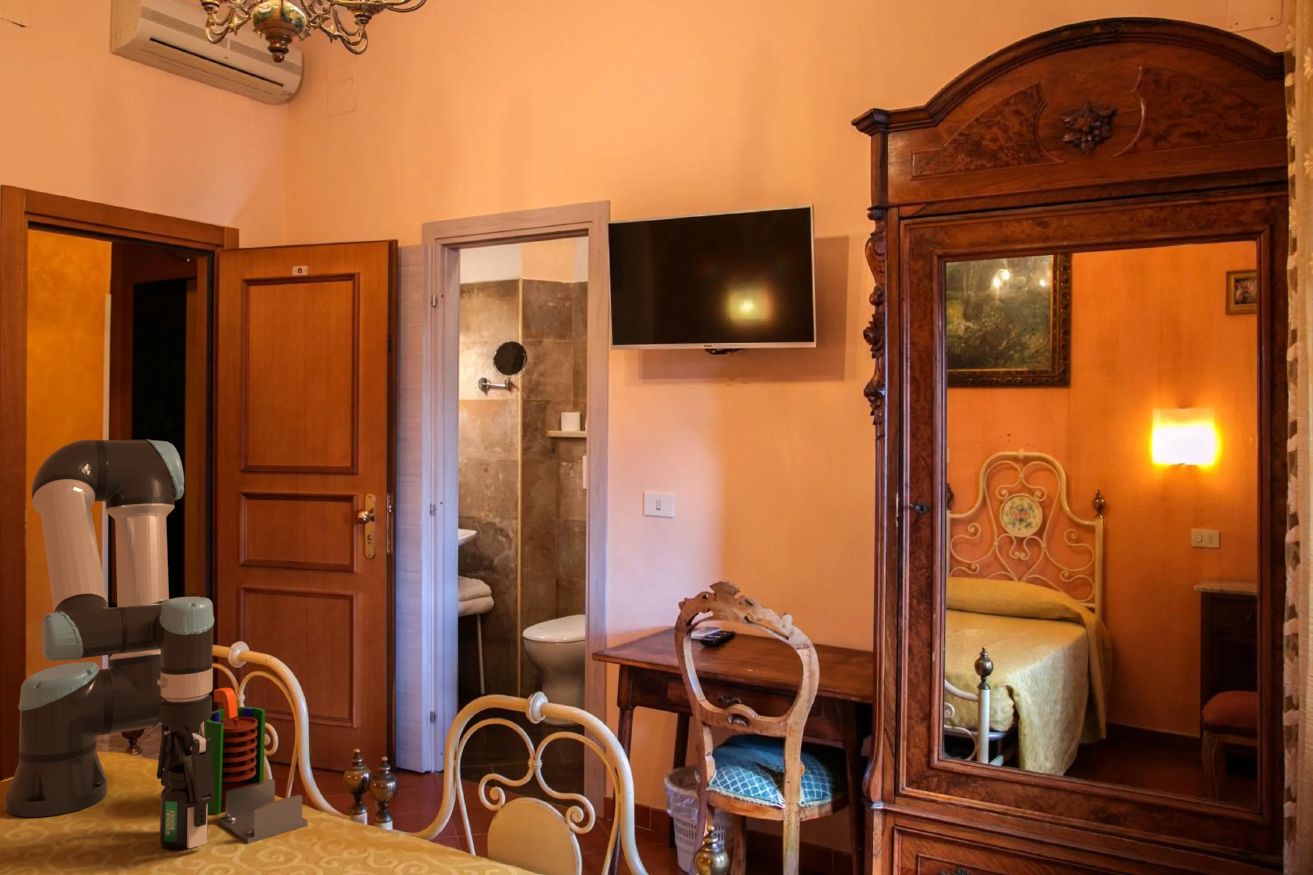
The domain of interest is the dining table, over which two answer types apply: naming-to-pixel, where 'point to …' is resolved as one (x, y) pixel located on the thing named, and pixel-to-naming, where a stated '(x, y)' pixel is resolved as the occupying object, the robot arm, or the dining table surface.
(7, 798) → the robot arm
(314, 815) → the dining table surface
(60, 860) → the dining table surface
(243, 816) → the cradle
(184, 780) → the supplement bottle
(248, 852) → the dining table surface
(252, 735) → the motor
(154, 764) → the dining table surface
